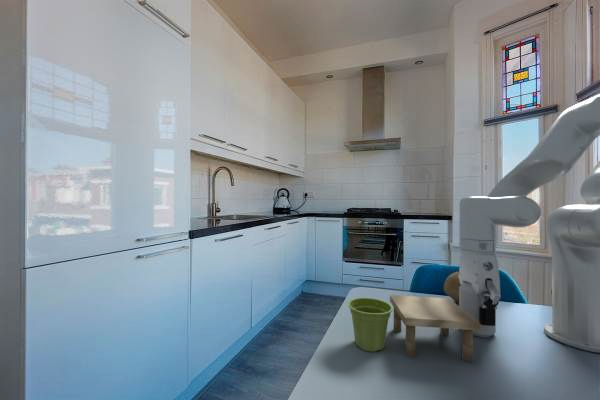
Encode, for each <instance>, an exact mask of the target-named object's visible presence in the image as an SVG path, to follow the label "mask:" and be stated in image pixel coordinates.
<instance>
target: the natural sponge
mask: <svg viewBox="0 0 600 400" xmlns="http://www.w3.org/2000/svg"><path fill="white" fill-rule="evenodd" d="M458 275H459V271H455V272H453V273H451V274H449V275H448V276H447V277H446V279H445V282H444V283H443V291H444V294H446V295H447V296H448V297H449V298H451V299H452V301H453V302H455V303H458V304H459V287H460V285H459V283H460V281H459V277H458Z"/></svg>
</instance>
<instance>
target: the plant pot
mask: <svg viewBox="0 0 600 400" xmlns="http://www.w3.org/2000/svg"><path fill="white" fill-rule="evenodd" d="M347 306H348V308H349V310H350V311H349V312H350V314H351V317H352V318H351V319H352V326H353V334H354V335H353V336H354V341H355V345H357V346H358V347H359V349H361V350H363V351H367V352H371V353H372V352H376V351H379V350H380V351H382V350H384V348H385V344H386V342H385V341H386V336H387V329H388V324H389V319H390V317H391V313H392V312H393V311H394V307H393V305H392V304H391V303H389V302H387V301H385V300H382V299H378V298H373V297H372V298H371V297H357V298H353V299H351V300H349V301H348V302H347Z"/></svg>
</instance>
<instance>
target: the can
mask: <svg viewBox="0 0 600 400" xmlns="http://www.w3.org/2000/svg"><path fill="white" fill-rule="evenodd" d="M462 282H463V284H462V285H461V286H460V287H459V303H458V306H459V307H460V308H462V309H463V310H464V311H466V312H467V313H468V314H469V315H471V316H472V317H473V318H475V319H476V320H477V321H478V322H479V307H482V306H481V303H480V300H479V296H477V295H476V294H475V292H474V291H473V289H472V287H471V286H472V285H470V284H467V283H465V282H464V281H462ZM482 294H489V292H488V291H482ZM484 299H485V302H486V301H487V299H489V298H486V297H484ZM496 326H497V325H495V326H487V325H481V324H480V331H479V330H473V336H475V337H480V338H490V337H492V336H493V335H495V334H496V332H497V331H496V329H497V327H496Z"/></svg>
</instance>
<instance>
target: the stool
mask: <svg viewBox="0 0 600 400" xmlns="http://www.w3.org/2000/svg"><path fill="white" fill-rule="evenodd" d="M389 302H390V305H391V306H392V307H393V324H392V325H393V329H392V330H393V331H394V332H397V333H401V332H402V323H403V324H404V326H405V356H407V357H409V358H416V327H420V328H421V327H423V328H424V327H425V328H437V329H439V328H440V334H441V335H442V336H449V335H450V330H452V329H453V330H462V347H461V349H462V351H461V352H462V360H463V361H465V362H468V363H473V362H474V335H473V330H479V331H480V322H478V321H477V320H476V319H475V318H473V317H472V316H471V315H469V314H468V313H467V312H466V311H464V310H463V309H462V308H460V307H459V304H456V302H455V301H454V300H451V299H450V297H448V298H447V297H431V296H430V297H429V296H416V295H415V296H414V295H413V296H412V295H410V296H409V295H393V294H390V295H389Z"/></svg>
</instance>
